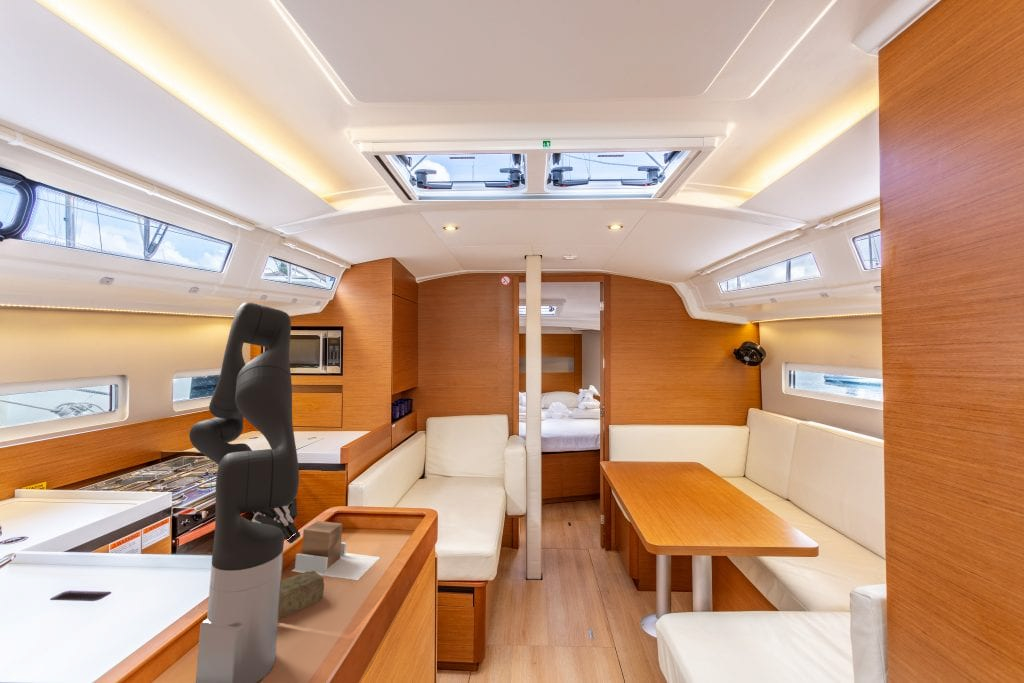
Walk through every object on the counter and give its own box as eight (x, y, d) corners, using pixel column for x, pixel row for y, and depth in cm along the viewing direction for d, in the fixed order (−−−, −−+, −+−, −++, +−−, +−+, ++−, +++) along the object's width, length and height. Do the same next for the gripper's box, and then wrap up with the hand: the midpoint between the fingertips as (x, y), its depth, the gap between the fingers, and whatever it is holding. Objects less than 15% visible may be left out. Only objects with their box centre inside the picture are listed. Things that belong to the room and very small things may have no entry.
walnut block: (327, 568, 87) (329, 532, 87) (301, 565, 88) (303, 529, 88) (340, 557, 91) (342, 523, 92) (315, 554, 92) (317, 520, 93)
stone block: (324, 602, 76) (326, 576, 76) (258, 632, 67) (260, 603, 67) (312, 590, 80) (313, 566, 80) (247, 617, 71) (249, 589, 71)
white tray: (357, 583, 83) (358, 565, 83) (275, 571, 86) (276, 554, 86) (380, 559, 92) (381, 544, 93) (305, 550, 96) (306, 535, 96)
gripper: (241, 480, 87) (286, 542, 84) (284, 465, 100) (324, 518, 97) (219, 502, 87) (262, 564, 84) (265, 484, 100) (304, 537, 98)
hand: (295, 539), depth 91 cm, fingers closed
